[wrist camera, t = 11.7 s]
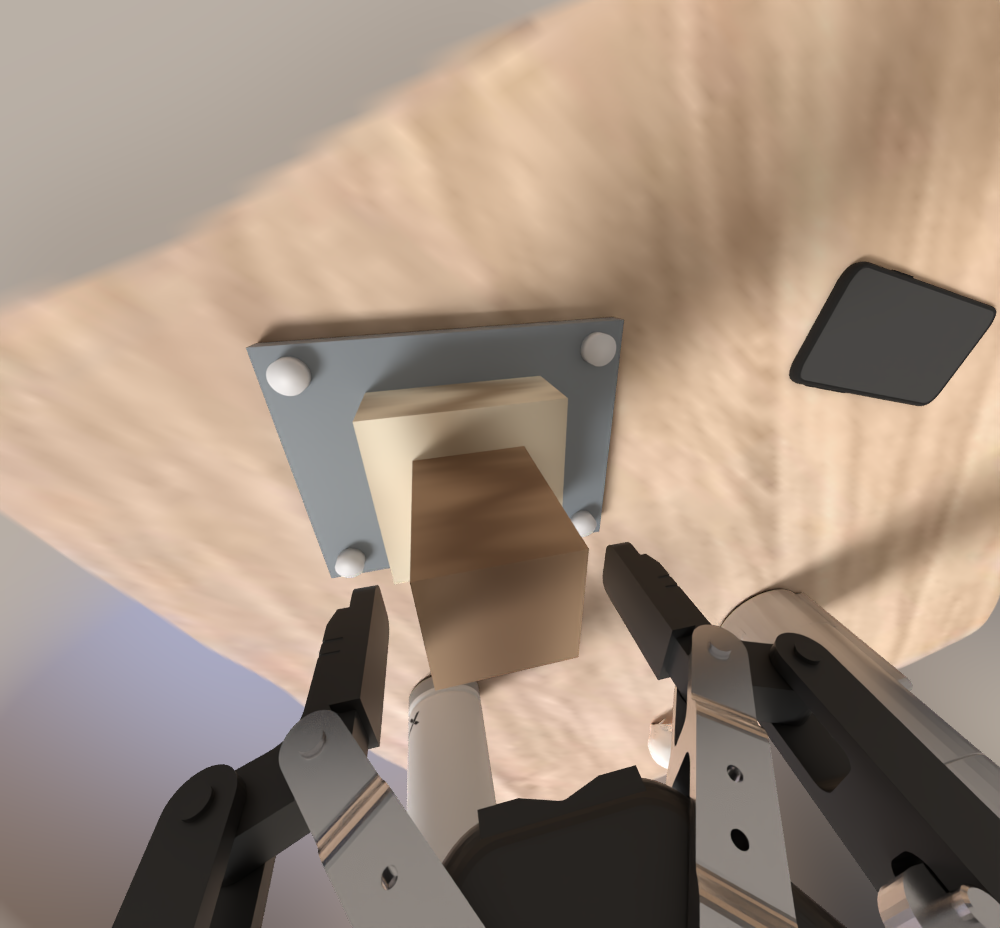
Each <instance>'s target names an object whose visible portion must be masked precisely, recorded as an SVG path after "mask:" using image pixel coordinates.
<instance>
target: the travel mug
mask: <svg viewBox="0 0 1000 928" xmlns="http://www.w3.org/2000/svg"><path fill="white" fill-rule="evenodd" d="M407 779H408V780H407V813H408V814H409V816H410V817H411V819H412V820H413V822H414V823H415V825H416V826H417V828H418V829H419V831H420V832H421V834H422V835H423V837H424V838H425V839H426V841H427V842H428V844H429V845H430V847H431V848H432V850H433V851H434V853H435V854H436V856H437V857H438V859H439V860H440V862H441V863H442V862H443V860H444V859H445V857H446V856H447V854H448V853H449V851H450V850H451V848H452V847H453V846H454V845H455V843H456V842H457V841H458V840H459V839H460V837H461V836H463V835H464V834H465V833H466V832H467V831H468V830H469V829H470V828H472V827H473V826H474V825H476V824H477V823H479V821H478V812H477V810H479V809H482V808H486V807H489V806H493V805H496V800H495V793H494V786H493V780H492V773H491V766H490V760H489V753H488V746H487V740H486V733H485V727H484V720H483V713H482V707H481V700H480V693H479V687H478V684H477V682H476V681H475V682H471V683H466V684H462V685H458V686H454V687H450V688H445V689H441V690H437V691H435V688H434V684H433V679H432V677H429V678H427V679H425V680H424V681H422V682H421V683H419V684H418V685H417V686H416V687H415V688H414V689H413V691H412V692H411V694H410V697H409V722H408V778H407Z"/></svg>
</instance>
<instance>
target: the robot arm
mask: <svg viewBox="0 0 1000 928" xmlns="http://www.w3.org/2000/svg"><path fill="white" fill-rule="evenodd" d="M603 584H604V587H605V590H606V593H607V594H608V596H609V598H610V599H611V601H612V603H613V605H614V606H615V608H616V610H617V611H618V613H619V615H620V616H621V618H622V620H623V621H624V623H625V625H626V627H627V628H628V630H629V632H630V633H631V635H632V637H633V638H634V640H635V642H636V643H637V645H638V647H639V649H640V650H641V652H642V654H643V655H644V657H645V659H646V660H647V662H648V664H649V665H650V667H651V669H652V671H653V672H654V674H655V676H656V677H657V679H658V680H660V679H664V678H669V677H671V679H672V680H673V682H674V684H675V689H674V702H673V720H672V738H671V753H670V760H669V765H668V770H667V778H666V784H663V783H661V782H658V781H655V780H651V779H646V778H641V776H640V774H639V772H638V769H637V767H636V765H635V766H631V767H628V768H624V769H621V770H617V771H614V772H610V773H606V774H603V775H599V776H598V777H596V778H595V779H593V780H592V781H591V782H589V783H588V784H587V785H585V786H584V787H582V788H581V789H580V790H578V791H577V792H575V793H574V794H573V795H571V796H570V797H569V798H567V799H565V800H563V801H552V800H537V799H521V798H518V799H514V800H511V801H507V802H503V803H500V804H496V805H493V806H489V807H486V808H482V809H479V810H477V812H478V821H479V823H477V824H476V825H474V826H473V827H472V828H470V829H469V830H468V831H467V832H466V833H465V834H464V835H463V836H461V837H460V839H459V840H458V841H457V842H456V843H455V845H454V846H453V847H452V848H451V850H450V851H449V853H448V854H447V856H446V857H445V859H444V860H443V862H442V863H441V862H440V860H439V859H438V857H437V856H436V854H435V853H434V851H433V850H432V848H431V847H430V845H429V844H428V842H427V841H426V839H425V838H424V837H423V835H422V834H421V832H420V831H419V829H418V828H417V826H416V825H415V823H414V822H413V820H412V819H411V817H410V816H409V814H408V813H407V811H406V810H405V809H404V807H403V806H402V804H401V803H400V801H399V800H398V799H397V797H396V795H395V794H394V792H393V791H392V789H391V788H390V787H389V785H388V784H387V783H386V782H385V781H384V780H382V779H381V777H380V776H379V775H378V773H377V772H376V770H375V769H374V767H373V766H372V764H371V763H370V761H369V760H368V758H367V753H368V749H371V748H375V747H379V746H380V735H381V724H382V712H383V700H384V688H385V677H386V665H387V653H388V642H389V621H388V616H387V612H386V608H385V605H384V601H383V598H382V594H381V591H380V588H379V586H378V585H376V586H370V587H364V588H358V589H354V590H353V593H352V597H351V602H350V607H348V608H342V609H337V611H336V612H335V614H334V615H333V617H332V618H331V619H330V621H329V622H328V624H327V626H326V630H325V634H324V637H323V644H322V645H321V649H320V652H319V658H318V660H317V664H316V667H315V671H314V675H313V679H312V682H311V686H310V690H309V694H308V697H307V701H306V705H305V709H304V712H303V715H302V717H301V719H300V721H299V722H298V723H296V724H295V725H294V726H293V728H292V729H291V730H290V731H289V733H288V734H287V735H286V737H285V739H284V741H283V742H282V743H281V744H279V745H278V746H276V747H275V748H274V749H272V750H270V751H269V752H267V753H265V754H264V755H262V756H260V757H258V758H256V759H255V760H253V761H251V762H249V763H247V764H246V765H244V766H242V767H240V768H238V769H237V770H234V769H233V768H232V767H230V766H228V765H224V764H223V765H214V766H211V767H208V768H206V769H204V770H202V771H200V772H199V773H197V774H195V775H194V776H193V777H191V778H190V779H189V780H188V781H186V782H185V783H184V784H183V785H182V786H181V787H180V788H179V789H178V790H177V791H176V793H175V794H174V795H173V796H172V798H171V799H170V800H169V802H168V803H167V805H166V806H165V808H164V810H163V812H162V814H161V816H160V818H159V820H158V823H157V825H156V827H155V830H154V832H153V834H152V836H151V839H150V841H149V843H148V846H147V848H146V850H145V853H144V855H143V857H142V859H141V862H140V864H139V866H138V869H137V871H136V873H135V876H134V878H133V880H132V882H131V885H130V888H129V890H128V892H127V894H126V896H125V899H124V901H123V903H122V906H121V908H120V910H119V912H118V915H117V917H116V920H115V922H114V924H113V926H112V928H261V926H262V921H263V916H264V912H265V907H266V902H267V897H268V891H269V887H270V882H271V877H272V872H273V867H274V862H275V858H276V855H277V854H279V853H280V852H282V851H283V850H285V849H286V848H288V847H289V846H291V845H292V844H294V843H295V842H297V841H298V840H300V839H301V838H303V837H304V836H305V835H307V834H309V833H310V832H311V834H312V836H313V838H314V840H315V842H316V845H317V847H318V853H319V857H320V859H321V862H322V864H323V866H324V869H325V871H326V873H327V875H328V877H329V879H330V882H331V883H332V885H333V888H334V890H335V892H336V894H337V896H338V899H339V901H340V903H341V905H342V907H343V909H344V911H345V913H346V916H347V918H348V920H349V922H350V924H351V926H352V928H847V927H845V926H844V925H843V924H841V923H840V922H839V921H838V920H837V919H836V918H834V917H833V916H832V915H831V914H829V913H828V912H827V911H826V910H825V909H823V908H822V907H821V906H820V905H819V904H817V903H816V902H815V901H814V900H813V899H811V898H810V897H809V896H808V895H806V894H805V893H804V892H803V891H802V890H800V889H799V888H798V887H797V886H795V885H794V884H793V883H792V882H791V881H790V876H789V869H788V863H787V856H786V850H785V843H784V836H783V829H782V823H781V816H780V809H779V803H778V796H777V790H776V783H775V776H774V770H773V763H772V756H771V749H770V743H769V738H770V739H771V741H772V742H773V743H774V745H775V746H776V748H777V749H778V750H779V752H780V753H781V755H782V756H783V758H784V759H785V761H786V762H787V763H788V765H789V766H790V767H791V769H792V771H793V772H794V773H795V775H796V776H797V778H798V779H799V781H800V782H801V783H802V785H803V786H804V788H805V789H806V790H807V792H808V793H809V795H810V796H811V798H812V799H813V800H814V802H815V803H816V805H817V806H818V808H819V809H820V810H821V812H822V813H823V815H824V816H825V817H826V819H827V820H828V822H829V823H830V825H831V826H832V828H833V829H834V830H835V832H836V833H837V835H838V836H839V837H840V839H841V840H842V842H843V843H844V845H845V846H846V847H847V849H848V850H849V852H850V853H851V855H852V856H853V857H854V859H855V860H856V862H857V863H858V864H859V866H860V867H861V869H862V870H863V872H864V873H865V875H866V876H867V877H868V878H869V880H870V882H871V883H872V884H873V886H874V887H875V889H876V890H877V892H878V908H879V912H880V915H881V918H882V921H883V923H884V925H885V928H1000V767H999V766H998V765H996V764H995V763H994V762H993V761H992V760H991V759H989V758H988V757H987V756H986V755H984V754H983V753H982V752H981V751H980V750H978V749H977V748H976V747H975V746H974V745H972V744H971V743H970V742H969V741H968V740H967V739H965V738H964V737H963V736H962V735H961V734H960V733H958V732H957V731H956V730H955V729H954V728H952V727H951V726H950V725H949V724H948V723H946V722H945V721H944V720H943V719H942V718H941V717H939V716H938V715H937V714H936V713H935V712H934V711H932V710H931V709H930V708H929V707H928V706H927V705H925V704H924V703H923V702H922V701H921V700H919V699H918V698H917V697H916V696H915V695H913V694H912V693H911V692H910V690H911V689H912V687H913V685H912V683H911V681H910V680H909V679H908V678H907V677H906V676H904V675H903V674H902V673H901V672H900V671H898V670H897V669H896V668H895V667H894V666H892V665H891V664H890V663H889V662H887V661H886V660H885V659H884V658H883V657H881V656H880V655H879V654H878V653H877V652H875V651H874V650H873V649H872V648H870V647H869V646H868V645H867V644H866V643H864V642H863V641H862V640H861V639H859V638H858V637H857V636H856V635H855V634H853V633H852V632H851V631H850V630H849V629H847V628H846V627H845V626H844V625H842V624H841V623H840V622H839V621H838V620H836V619H835V618H834V617H833V616H831V615H830V614H829V613H828V612H827V611H825V610H824V609H823V608H822V607H821V606H819V605H818V604H817V603H816V602H814V601H813V600H812V599H811V598H810V597H808V596H807V595H806V594H805V593H799V594H795V593H793V592H791V591H790V590H785V589H779V590H772V591H768V592H765V593H762V594H759V595H757V596H755V597H753V598H751V599H749V600H748V601H746V602H745V603H743V604H742V605H740V606H739V607H738V608H737V609H735V610H734V611H733V612H732V613H731V614H730V615H729V616H728V617H727V618H726V620H725V621H724V622H723V624H722V626H721V627H719V626H715V625H711V624H710V622H709V621H708V620H707V619H706V618H705V617H704V615H703V614H702V613H701V612H700V611H699V609H698V608H697V607H696V606H695V605H694V604H693V602H692V601H691V600H690V599H689V598H688V596H687V595H686V594H685V593H684V592H683V590H682V589H681V588H680V587H678V586H677V583H676V582H675V581H674V580H673V578H672V577H670V576H669V574H668V572H667V571H666V570H665V569H664V568H663V566H662V565H661V564H660V563H659V562H657V561H656V560H654V559H653V558H651V557H650V556H648V555H647V554H643V555H640V554H639V553H638V552H637V550H636V549H635V548H634V547H633V545H632V544H631V543H629V542H625V543H619V544H614V545H608V546H607V548H606V554H605V562H604V569H603ZM757 721H758V722H759V724H760V725H761V726H762V727H761V726H759V725H758V723H757ZM768 736H769V738H768Z"/></svg>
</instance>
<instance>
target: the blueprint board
mask: <svg viewBox="0 0 1000 928" xmlns="http://www.w3.org/2000/svg"><path fill="white" fill-rule="evenodd" d="M623 324H624V320H623V319H619V318H614V317H609V318H596V319H582V320H568V321H554V322H541V323H527V324H513V325H499V326H486V327H472V328H458V329H444V330H431V331H417V332H403V333H389V334H376V335H362V336H348V337H334V338H321V339H307V340H293V341H279V342H266V343H256V344H253V345H251V346H249V347H246V349H247V352H248V355H249V357H250V360H251V363H252V365H253V368H254V371H255V373H256V376H257V379H258V381H259V384H260V387H261V390H262V392H263V395H264V398H265V400H266V403H267V406H268V408H269V411H270V414H271V416H272V419H273V422H274V425H275V427H276V430H277V433H278V435H279V438H280V441H281V443H282V446H283V449H284V451H285V454H286V457H287V459H288V462H289V465H290V468H291V470H292V473H293V476H294V478H295V481H296V484H297V486H298V489H299V492H300V494H301V497H302V500H303V503H304V505H305V508H306V511H307V513H308V516H309V519H310V521H311V524H312V527H313V529H314V532H315V535H316V538H317V540H318V543H319V546H320V548H321V551H322V554H323V556H324V559H325V562H326V564H327V567H328V570H329V572H330V575H331V578H336V577H341V576H342V577H346V578H352V577H356V576H358V575H360V574H361V573H364V572H370V571H376V570H381V569H387V568H390V565H389V562H388V558H387V554H386V550H385V546H384V542H383V538H382V534H381V530H380V527H379V523H378V519H377V515H376V511H375V507H374V503H373V499H372V496H371V492H370V488H369V484H368V480H367V476H366V472H365V468H364V464H363V461H362V457H361V453H360V449H359V445H358V441H357V437H356V433H355V430H354V426H353V420H354V417H355V415H356V413H357V410H358V408H359V406H360V403H361V401H362V399H363V397H364V394H365V393H368V392H378V391H388V390H398V389H409V388H419V387H429V386H439V385H450V384H460V383H470V382H480V381H491V380H501V379H511V378H521V377H532V376H541V377H543V378H544V379H545V380H546V381H548V382H549V383H550V384H551V385H552V386H554V387H555V388H556V389H557V390H559V391H560V392H561V393H562V394H563V395H565V396H566V397H567V398H568V409H567V428H566V447H565V466H564V486H563V505H562V507H563V509H564V510H565V512H566V513H567V515H568V516H569V518H570V520H571V521H572V523H573V524H574V526H575V528H576V529H577V531H578V532H579V534H580V536H581V537H585V536H588V535H590V534H591V533H593V532H598V531H599V529H600V520H601V512H602V503H603V495H604V486H605V478H606V469H607V461H608V452H609V444H610V435H611V427H612V418H613V410H614V401H615V393H616V384H617V376H618V367H619V359H620V350H621V341H622V333H623Z"/></svg>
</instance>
